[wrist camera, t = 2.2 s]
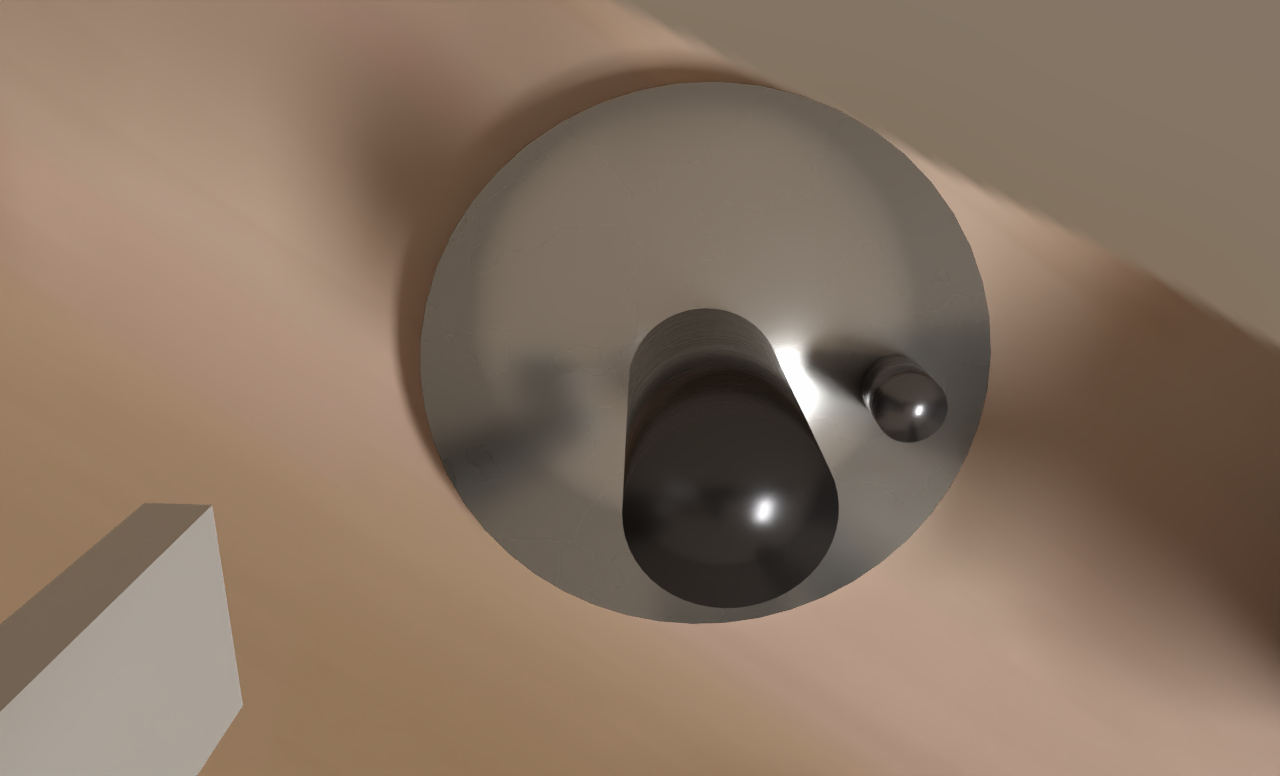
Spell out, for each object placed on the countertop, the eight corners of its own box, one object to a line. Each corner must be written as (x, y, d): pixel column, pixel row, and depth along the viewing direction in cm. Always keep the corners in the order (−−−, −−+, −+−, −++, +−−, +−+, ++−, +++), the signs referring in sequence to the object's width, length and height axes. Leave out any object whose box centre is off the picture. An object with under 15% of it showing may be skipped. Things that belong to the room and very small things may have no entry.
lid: (444, 594, 22) (357, 822, 15) (414, 73, 18) (276, 74, 11) (934, 605, 22) (1061, 838, 15) (1015, 88, 18) (1235, 98, 11)
